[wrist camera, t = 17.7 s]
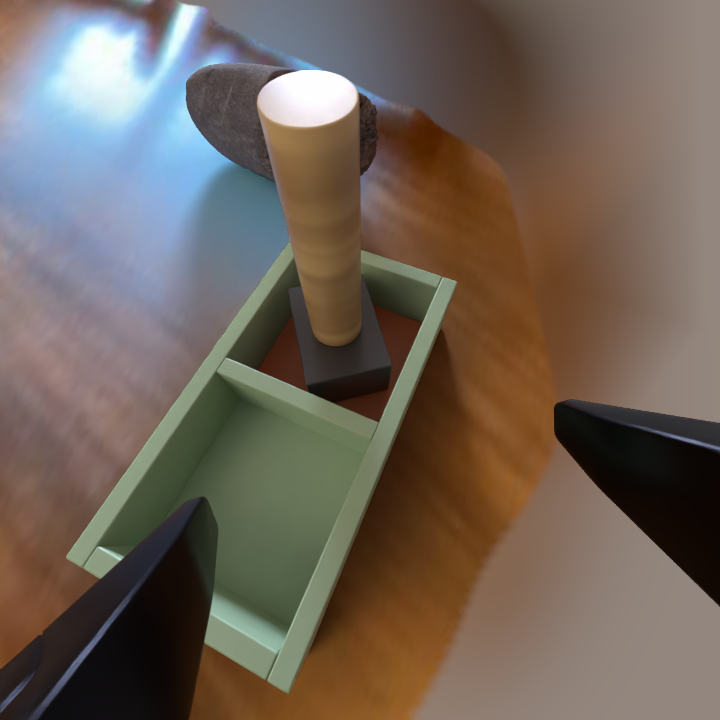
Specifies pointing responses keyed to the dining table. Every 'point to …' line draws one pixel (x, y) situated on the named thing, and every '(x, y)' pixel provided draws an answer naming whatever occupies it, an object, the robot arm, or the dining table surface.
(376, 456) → the divided tray
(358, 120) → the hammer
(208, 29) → the dining table surface
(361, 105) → the perforated stone tool
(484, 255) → the dining table surface
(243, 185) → the dining table surface
